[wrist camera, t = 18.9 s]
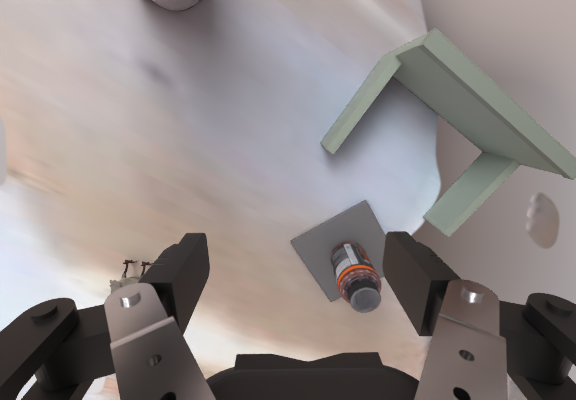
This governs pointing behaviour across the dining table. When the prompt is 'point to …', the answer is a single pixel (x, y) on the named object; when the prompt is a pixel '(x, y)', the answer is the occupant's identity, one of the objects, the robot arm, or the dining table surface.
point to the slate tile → (341, 228)
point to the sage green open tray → (460, 122)
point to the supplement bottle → (356, 277)
